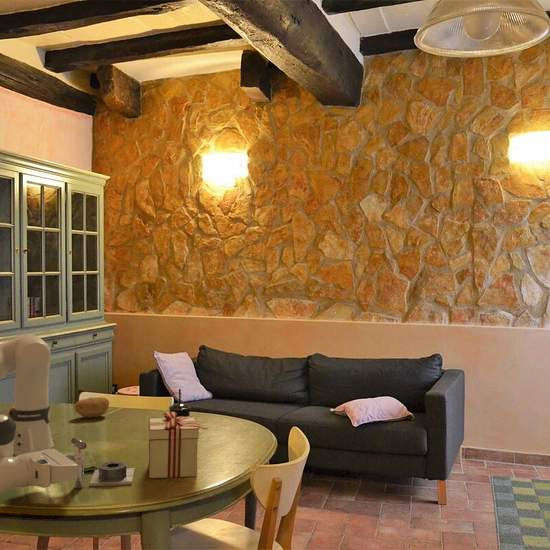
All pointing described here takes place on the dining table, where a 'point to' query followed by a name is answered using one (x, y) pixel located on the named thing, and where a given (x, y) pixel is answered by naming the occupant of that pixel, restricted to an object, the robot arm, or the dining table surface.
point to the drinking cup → (180, 408)
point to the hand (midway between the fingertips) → (81, 458)
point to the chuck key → (78, 453)
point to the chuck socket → (112, 474)
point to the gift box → (173, 446)
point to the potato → (92, 407)
